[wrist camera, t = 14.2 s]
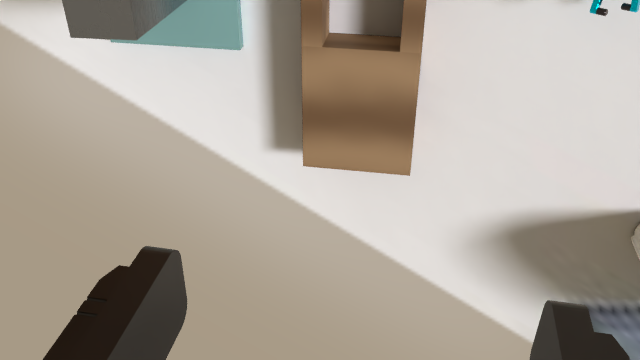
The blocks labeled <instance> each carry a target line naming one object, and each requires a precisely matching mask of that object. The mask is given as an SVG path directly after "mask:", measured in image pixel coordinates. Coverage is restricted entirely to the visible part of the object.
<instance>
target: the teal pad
mask: <svg viewBox="0 0 640 360" xmlns="http://www.w3.org/2000/svg"><path fill="white" fill-rule="evenodd" d="M111 42H117V43H133V44H149V45H165V46H181V47H197V48H213V49H229V50H241V48H242V47H243V38H242V23H241V8H240V0H187V1H186V2H184V3H183V4H182V5H181V6H179V7H178V8H177V9H176V10H174V11H173V12H172V13H171V14H169V15H168V16H167V17H166V18H164V19H163V20H162V21H161V22H159V23H158V24H157V25H156V26H154V27H153V28H152V29H150V30H149V31H148V32H147V33H145V34H144V35H143V36H142V37H140V38H139V39H138V40H137V41H136V40H115V39H111Z"/></svg>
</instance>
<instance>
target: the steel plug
mask: <svg viewBox="0 0 640 360" xmlns="http://www.w3.org/2000/svg"><path fill="white" fill-rule="evenodd" d="M186 1H187V0H62V2H63V6H64V10H65V15H66V19H67V23H68V28H69V32H70V36H71V38H93V39H115V40H136V41H137V40H138V39H139V38H140V37H142V36H143V35H144V34H145V33H147V32H148V31H149V30H150V29H152V28H153V27H154V26H156V25H157V24H158V23H159V22H161V21H162V20H163V19H164V18H166V17H167V16H168V15H169V14H171V13H172V12H173V11H174V10H176V9H177V8H178V7H179V6H181V5H182V4H183V3H184V2H186Z"/></svg>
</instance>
